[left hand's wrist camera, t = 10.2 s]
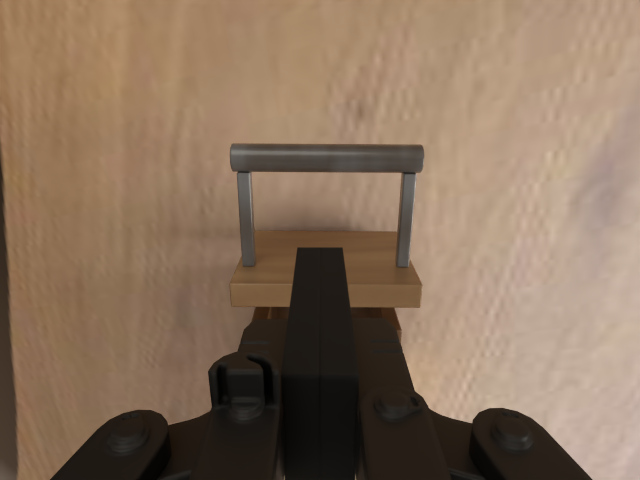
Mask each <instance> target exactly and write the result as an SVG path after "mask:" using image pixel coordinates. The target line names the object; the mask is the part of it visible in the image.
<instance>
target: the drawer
mask: <svg viewBox="0 0 640 480" xmlns="http://www.w3.org/2000/svg"><path fill="white" fill-rule="evenodd" d="M230 164H231V169H232V171H234V172H238V173H237V185H238V201H239V217H240V234H241V250H242V257H241V259H240V261H239V264H238V266H237V268H236V271H235V273H234V275H233V278H232V280H231V282H230V297H231V306H232V307H255V311H254V314H253V318H252V322H253V321H254V320H255V319H288V315H289V308H290V300H291V292H292V285H293V277H294V269H295V262H296V254H297V247H343V254H344V262H345V269H346V277H347V285H348V292H349V300H350V308H351V315H352V318H386V319H387V320H388V321H389V322H390V323H391V324H392V325H393V326H394V327H395V328H396V330H397V333H398V337H399V340H400V343H401V334H402V330H401V327H400V324H399V321H398V317H397V314H396V311H395V308H394V307H399V308H420V306H421V296H422V286H423V285H422V283H421V281H420V279H419V277H418V275H417V273H416V271H415V269H414V267H413V265H412V262H411V260H410V246H411V235H412V223H413V211H414V199H415V188H416V176H417V175H416V173H420V172H421V171H422V169H423V165H424V149H423V146H422V145H389V144H232V145H231V148H230ZM251 172H368V173H402V176H401V190H400V203H399V217H398V231H397V232H368V231H254V214H253V193H252V173H251Z"/></svg>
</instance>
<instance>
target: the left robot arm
mask: <svg viewBox="0 0 640 480" xmlns="http://www.w3.org/2000/svg"><path fill="white" fill-rule="evenodd" d="M208 375H209V384H210V393H211V403H212V408H211V411H209V412H208V413H206V414H204V415H202V416H200V417H197V418H194V419H191V420H188V421H184V422H180V423H176V424H172V425H168V423H167V421H166V420H165V418H164V417H163V416H162V415H161V414H159V413H157V412H154V411H152V410H135V411H131V412H126V413H123V414H121V415H119V416H116V417H114V418H112V419H110V420H109V421H107V422H106V423H105V424H104V425H102V426H101V427H100V428H99V429H97V431H96V432H95V433H94V434H93V435H92V436H91V437H90V438H89V439H88V440H87V441H86V442H85V443H84V444H83V445H82V446H81V447H80V449H79V450H78V451H77V452H76V453H75V454H74V455H73V456H72V457H71V458H70V459H69V460H68V461H67V462H66V463H65V464H64V465H63V467H62V468H61V469H60V470H59V471H58V472H57V473H56V474H55V475H54V476H53V477H52V478H51V479H50V480H284V475H285V480H355V473H356V480H592V479H591V478H590V477H589V475H588V474H587V473H586V472H585V471H584V470H583V469H582V468H581V467H580V466H579V465H578V464H577V463H576V462H575V461H574V460H573V459H572V458H571V457H570V455H569V454H568V453H567V452H566V451H565V450H564V449H563V448H562V447H561V446H560V445H559V444H558V443H557V442H556V441H555V440H554V439H553V438H552V437H551V436H550V434H549V433H548V432H547V431H546V430H545V429H544V428H543V427H542V426H540V425H539V424H538V423H537V422H535V421H534V420H533V419H532V418H530V417H528V416H526V415H524V414H522V413H519V412H517V411H513V410H509V409H505V408H489V409H487V410H484V411H482V412H479V413H478V414H477V416H476V417H475V418H474V419H473V423H468V422H463V421H459V420H455V419H451V418H448V417H445V416H442V415H440V414H438V413H436V412H434V411H432V410H430V409H429V408H428V405H427V404H426V402H425V400H424V399H423V397H422V396H420V395H419V394H418V393H416V392H415V390H414V387H413V384H412V380H411V377H410V374H409V370H408V367H407V364H406V360H405V357H404V354H403V350H402V347H401V343H400V340H399V337H398V333H397V330H396V328H395V327H394V326H393V325H392V324H391V323H390V322H389V321H388V320H387V319H386V318H352V315H351V308H350V300H349V292H348V285H347V277H346V269H345V262H344V254H343V247H297V254H296V262H295V269H294V277H293V285H292V292H291V300H290V308H289V315H288V319H255V320H254V321H253V322H251V323H250V324H249V325H248V326H247V327H246V328H245V329H244V332H243V335H242V339H241V344H240V345H239V349H238V352H234V353H232V354H229V355H226V356H223V357H222V358H220V359H219V360H218V361H216V362H215V363H214V364H213V365H212V367H211V368H210V369H209V371H208Z"/></svg>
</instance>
